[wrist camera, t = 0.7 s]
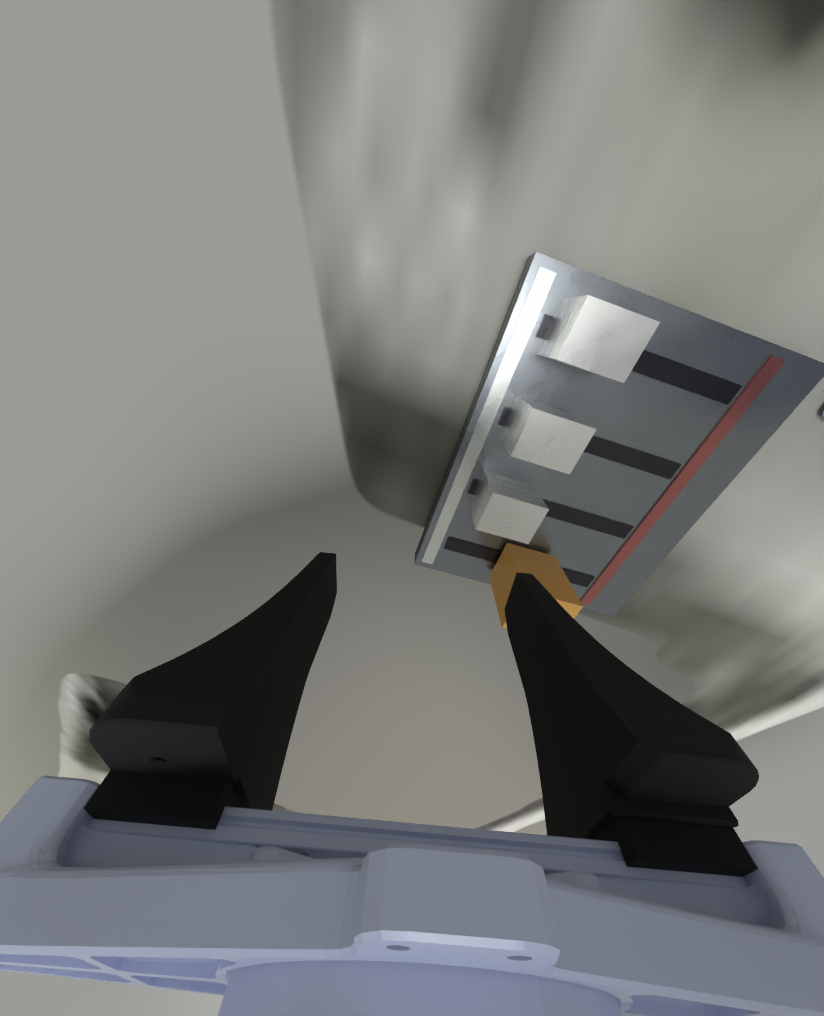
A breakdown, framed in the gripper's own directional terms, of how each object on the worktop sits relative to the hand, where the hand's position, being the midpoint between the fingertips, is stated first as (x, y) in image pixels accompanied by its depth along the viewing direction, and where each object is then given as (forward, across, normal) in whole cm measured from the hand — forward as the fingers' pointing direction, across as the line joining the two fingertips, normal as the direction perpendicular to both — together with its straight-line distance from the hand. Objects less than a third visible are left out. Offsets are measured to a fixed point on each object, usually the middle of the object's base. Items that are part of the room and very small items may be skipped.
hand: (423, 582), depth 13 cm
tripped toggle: (+8, -7, +5) cm, 12 cm away
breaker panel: (+10, -10, -2) cm, 14 cm away
